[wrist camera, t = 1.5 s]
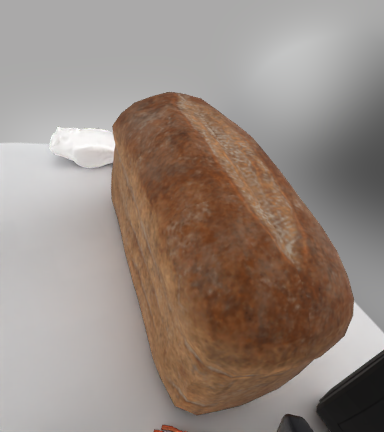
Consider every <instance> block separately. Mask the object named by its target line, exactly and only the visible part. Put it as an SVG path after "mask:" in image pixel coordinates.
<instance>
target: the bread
mask: <svg viewBox="0 0 384 432" xmlns="http://www.w3.org/2000/svg"><path fill="white" fill-rule="evenodd" d="M112 127H113V136H114V141H115V149H114V159H113V168H112V178H111V195H112V202H113V205H114V208H115V211H116V214H117V218H118V222H119V226H120V230H121V234H122V239H123V244H124V249H125V254H126V258H127V262H128V265H129V268H130V272H131V276H132V280H133V284H134V287H135V290H136V294H137V297H138V301H139V305H140V309H141V312H142V316H143V320H144V324H145V328H146V332H147V336H148V341H149V345H150V349H151V353H152V357H153V360H154V363H155V365H156V368H157V370H158V373H159V375H160V378H161V380H162V382H163V384H164V386H165V388H166V390H167V392H168V393H169V395H170V397H171V399H172V401H173V403H174V405H175V406H176V407H178V408H181V409H183V410H185V411H188V412H190V413H193V414H195V415H201V414H206V413H210V412H215V411H220V410H224V409H228V408H232V407H236V406H240V405H243V404H245V403H248V402H250V401H252V400H254V399H256V398H259V397H261V396H263V395H265V394H267V393H269V392H272V391H274V390H276V389H278V388H280V387H281V386H282V385H284V384H285V383H287V382H288V381H289V380H291V379H292V378H293V377H295V376H296V375H297V374H299V373H300V372H301V371H302V370H303V369H304V368H305V367H306V366H307V365H309V364H310V363H311V362H312V361H313V360H314V359H316V358H318V357H321V356H322V355H323V354H324V353H325V352H327V351H328V350H329V349H330V348H331V347H333V346H334V345H335V344H336V343H337V342H338V341H339V340H340V339H341V338H343V337H344V336H345V333H346V331H347V329H348V326H349V324H350V321H351V319H352V317H353V304H354V297H353V294H352V290H351V286H350V282H349V279H348V276H347V273H346V271H345V269H344V266H343V264H342V262H341V260H340V257H339V255H338V253H337V250H336V249H335V247H334V246H333V244H332V243H331V241H330V239H329V238H328V236H327V234H326V233H325V231H324V230H323V228H322V227H321V226H320V224H319V223H318V221H317V220H316V219H315V217H314V216H313V215H312V213H311V212H310V210H309V209H308V208H307V207H306V205H305V204H304V203H303V201H302V200H301V199H300V197H299V196H298V195H297V194H296V192H295V190H294V189H293V188H292V186H291V185H290V184H289V182H288V181H287V180H286V178H285V177H284V176H283V174H282V173H281V172H280V170H279V169H278V168H277V167H276V165H275V164H274V163H273V162H272V161H271V159H270V158H269V157H268V156H267V154H266V153H265V152H264V151H263V149H262V148H261V147H260V146H259V145H258V144H257V142H256V141H255V140H254V139H253V138H252V137H251V136H250V135H249V134H247V133H246V132H245V131H244V130H243V129H241V128H240V127H239V126H238V125H236V124H235V123H234V122H232V121H231V120H229V119H228V118H227V117H225V116H224V115H223V114H222V113H220V112H219V111H218V110H216V109H215V108H213V107H212V106H210V105H209V104H208V103H206V102H205V101H204V100H202V99H200V98H197V97H193V96H189V95H186V94H181V93H175V92H166V93H163V94H159V95H155V96H152V97H149V98H146V99H143V100H141V101H138V102H135V103H134V104H132V105H131V106H130V107H129V108H127V109H126V110H125V111H124V112H122V113H121V114H120V116H119V117H118V119H117V120H116V122H115V123H114V124H113V126H112Z"/></svg>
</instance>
